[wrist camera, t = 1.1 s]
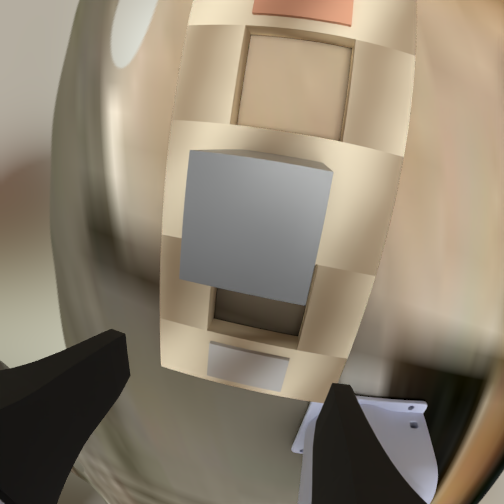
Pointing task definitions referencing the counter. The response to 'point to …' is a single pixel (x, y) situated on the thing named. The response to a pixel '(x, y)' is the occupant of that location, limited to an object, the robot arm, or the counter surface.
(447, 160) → the counter surface
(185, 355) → the socket board
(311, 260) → the plug
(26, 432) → the robot arm
